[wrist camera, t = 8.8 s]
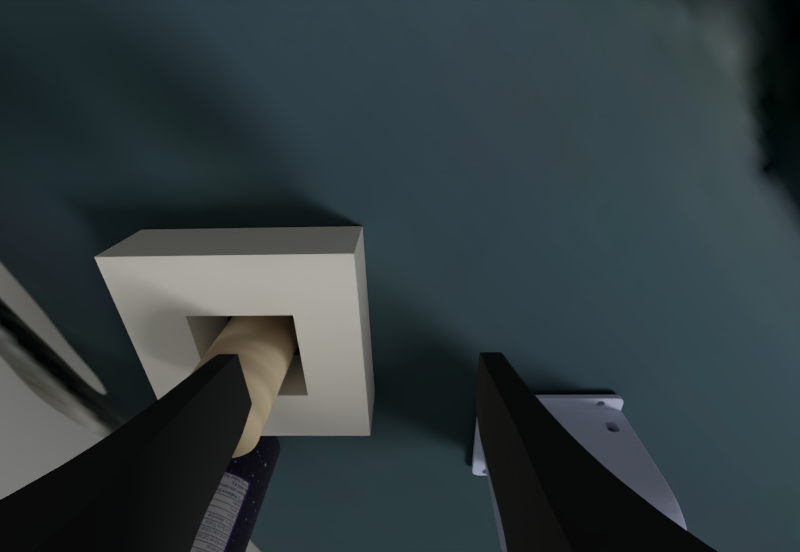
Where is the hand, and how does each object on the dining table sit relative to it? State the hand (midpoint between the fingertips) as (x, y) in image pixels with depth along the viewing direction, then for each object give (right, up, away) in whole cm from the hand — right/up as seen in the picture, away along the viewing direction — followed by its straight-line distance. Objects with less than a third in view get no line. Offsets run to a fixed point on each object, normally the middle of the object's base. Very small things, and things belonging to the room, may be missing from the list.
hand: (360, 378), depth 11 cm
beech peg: (-7, 0, +12) cm, 13 cm away
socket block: (-7, 0, +12) cm, 13 cm away
